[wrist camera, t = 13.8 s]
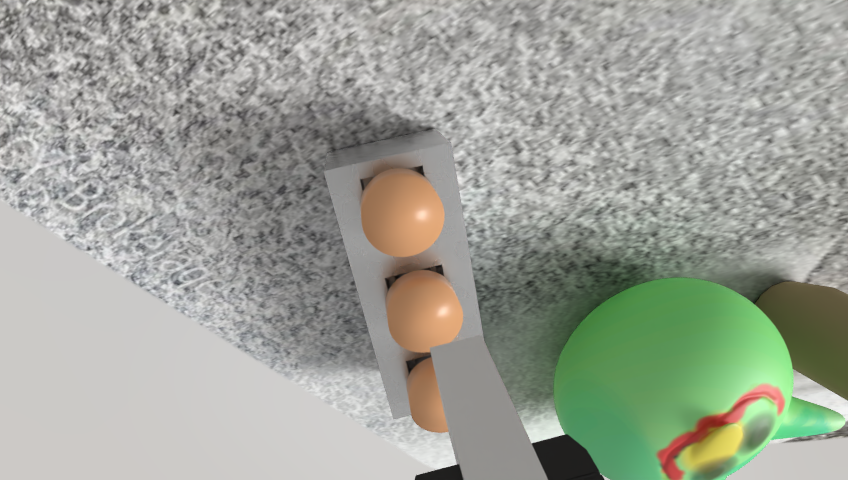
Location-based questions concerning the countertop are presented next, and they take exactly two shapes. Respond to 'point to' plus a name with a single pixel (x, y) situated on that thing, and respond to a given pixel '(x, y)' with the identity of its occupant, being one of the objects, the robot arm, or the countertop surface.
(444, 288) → the knob middle
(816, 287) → the squeeze bottle
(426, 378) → the knob
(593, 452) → the toy bird
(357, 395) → the countertop surface
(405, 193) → the knob
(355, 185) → the mount
